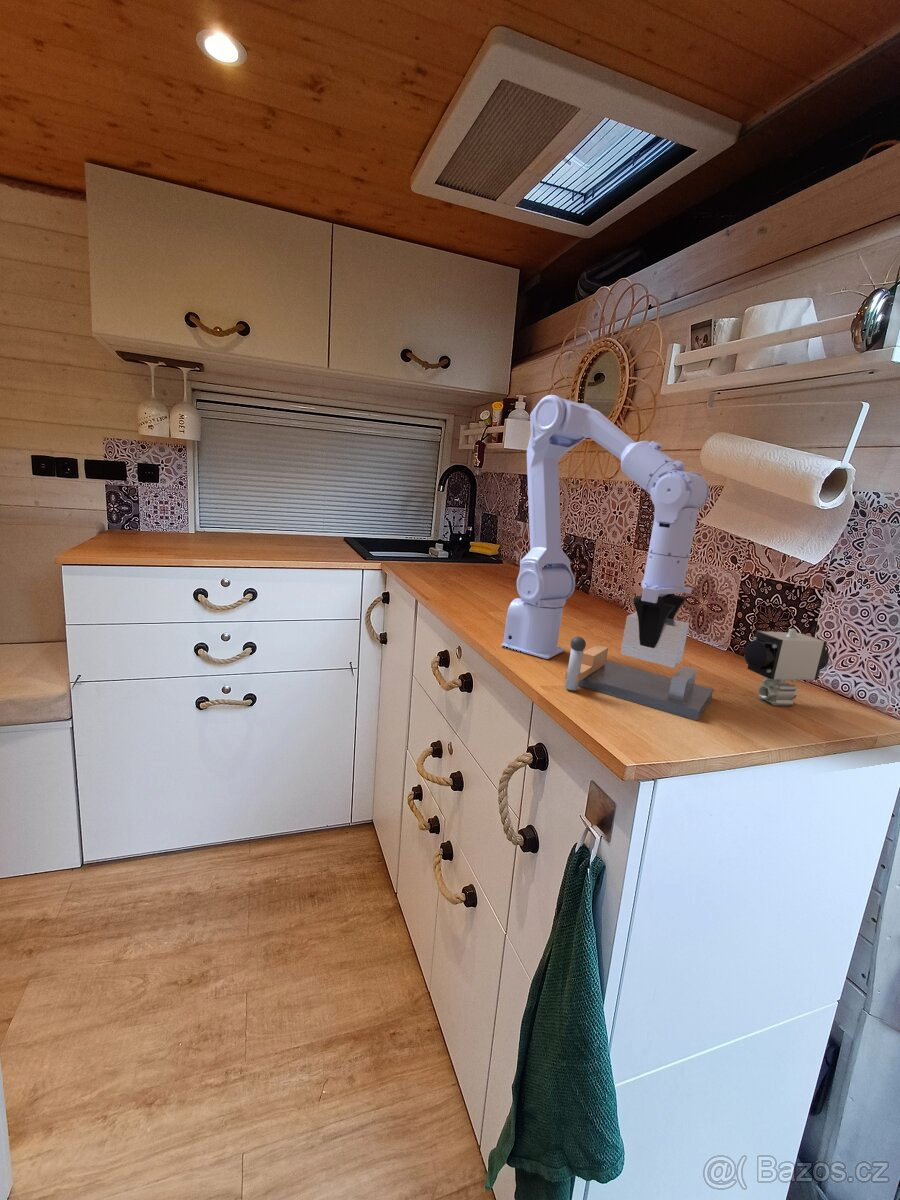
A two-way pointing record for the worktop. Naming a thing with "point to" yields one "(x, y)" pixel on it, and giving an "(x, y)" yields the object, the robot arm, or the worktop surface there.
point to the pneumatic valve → (785, 662)
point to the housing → (666, 647)
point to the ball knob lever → (583, 662)
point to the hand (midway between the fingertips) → (652, 642)
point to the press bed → (652, 688)
